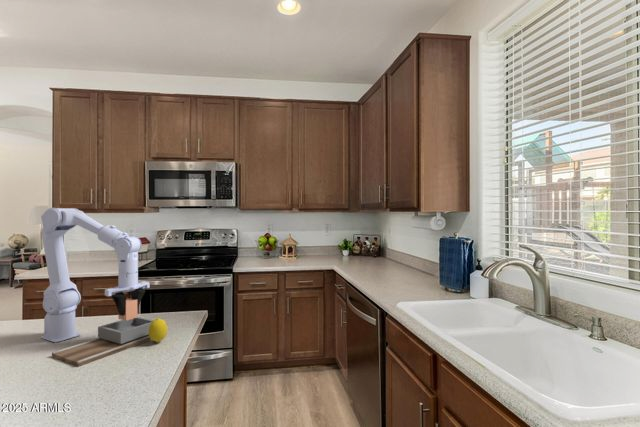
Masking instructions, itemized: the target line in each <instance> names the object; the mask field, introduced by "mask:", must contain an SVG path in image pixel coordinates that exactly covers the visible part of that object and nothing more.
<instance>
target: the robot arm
mask: <svg viewBox="0 0 640 427" xmlns="http://www.w3.org/2000/svg"><path fill="white" fill-rule="evenodd" d="M41 223H42V229H41V230H42V231H41V237H42V243H43V248H44V257H45V261H46V267H47V274H48V280H49V285H48V286H47V288H46V289H45V290H44V291H43V300H42V308H43V310H44V311H45V312H46V315H45V316H44V318H43V323H44V324H43V325H44V326H43V327H44V328H43V335H42V336H41V337H40V338H41V339H43V340H47V341H49V342H53V343H60V342H63V341H65V340H66V341H67V340H68V339H73V338H76V337H80V336H81V335H82V333H79V332H77V331H76V309H77V308H78V305H79V304H80V303H81V298H82V297H81V296H82V295H81V293H80V292H79V290H78V287H77V284H75V283H74V282H72V281H71V279H70V278H71V277H70V273H69V267H68V260H67V255H66V249H65V248H66V247H65V242H64V236H65V234H67V232H68V231H71V230H72V229H73V228H75V227H77V226H79V227H81V228H83V229H85V230H87V231H89V232H90V233H91V232H92V233H93V234H95V235H97V239H98V240H99V241H101V242H102V243H104V244H106V245H108V246H109V247H111V248H113V250H114V252H116V253H115V254H116V255H117V259H118V262H117V263H118V267H117V268H118V278H117V279H118V281H117V282H118V286H117V285H116V286H114V287H111V288H107V289H104V296H105V297H110V298H111V299H112V301H113V302H114V304H115V306H116V310H117V312H118V316H119V315H122V316H123V315H125V303H126V299H128V295H127V294H125V293H127V292H129V295H130V298H131V299H137V313H138V311H139V307H140V305H141V304H140V303H141V301H142V299H143V298H144V295H145V294H146V289H149V288H151V286H150V282H149V281H141V282H139V251H141V248H142V245H143V244H142V241H141V239H140V238H139V237H138V236H137V235H129V234H128V233H127V232H123V231H121V230H119V229H118V228H117V226H116V225H113V224H112V225H109V224H108V225H107V224H106V225H103V224H101V223H100V222H98V221H97V220H95V219H94V218H92V217H90V216H88V215H87V213H86V214H85V212H84V211H83V210H79V209H78V208H76V207H70V208H68V207H67V208H63V207H57V208H56V207H50V208H47V209H46V210H45V211H44V212H43V214H42V215H41Z"/></svg>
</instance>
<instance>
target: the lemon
mask: <svg viewBox="0 0 640 427" xmlns="http://www.w3.org/2000/svg"><path fill="white" fill-rule="evenodd" d="M153 320H154V321H153V322H152V323H151V324H150V326H149V337H150V338H151V340H150V341H153V342H155V343H157V344H158V343H160V342H161V341H163V340H164V339H165V337H166V336H167V334H168V326H167V325H168V324H167V322H166V321H165V320H164V319H162V318H159V317H158V318H156V319H153Z"/></svg>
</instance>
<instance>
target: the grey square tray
mask: <svg viewBox="0 0 640 427" xmlns="http://www.w3.org/2000/svg"><path fill="white" fill-rule="evenodd" d="M154 320H155V319H150V318H147V317H146V318H145V317H140V316H137V318H134V319H130V320H127V321H125V320H121V319H119V320H116V321H114V322H111V323H106V324H104V325H100V326H97V338H102V339H105V340H109V341H112V342H116V343H119V344H124V343H125V342H128V341H131V340H134V339H137V338H140V337H142V336H145V335H148V334H149V326H150V324H151V323H152V322H153V321H154Z"/></svg>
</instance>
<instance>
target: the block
mask: <svg viewBox="0 0 640 427" xmlns="http://www.w3.org/2000/svg"><path fill="white" fill-rule="evenodd" d="M137 317H138V312H137V299H131V297H130V298H126V303H125V315H123V316H122V315H119V314H118V320H125V321H127V320H130V319H134V318H137Z"/></svg>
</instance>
